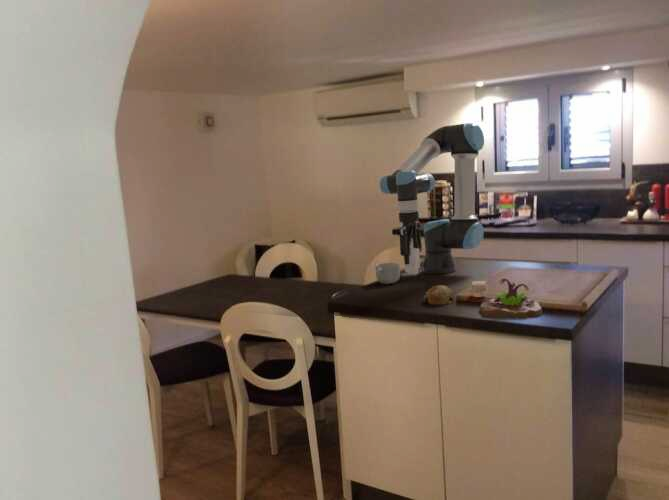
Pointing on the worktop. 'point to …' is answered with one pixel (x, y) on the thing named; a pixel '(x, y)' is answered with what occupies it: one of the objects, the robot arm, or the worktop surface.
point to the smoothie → (414, 259)
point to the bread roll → (439, 295)
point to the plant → (511, 304)
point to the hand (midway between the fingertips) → (412, 270)
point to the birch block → (479, 286)
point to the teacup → (387, 272)
